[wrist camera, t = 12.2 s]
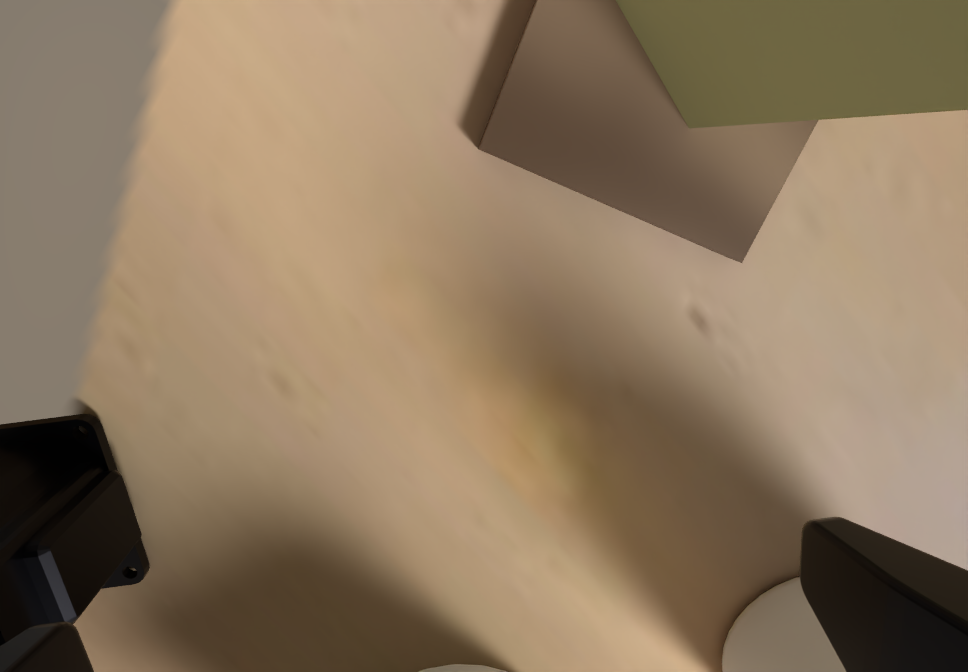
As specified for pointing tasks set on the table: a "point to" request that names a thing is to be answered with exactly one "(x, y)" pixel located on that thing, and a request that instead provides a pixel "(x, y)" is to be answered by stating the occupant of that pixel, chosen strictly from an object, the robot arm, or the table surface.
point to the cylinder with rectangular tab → (462, 668)
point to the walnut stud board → (633, 132)
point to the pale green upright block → (804, 57)
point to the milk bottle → (779, 636)
